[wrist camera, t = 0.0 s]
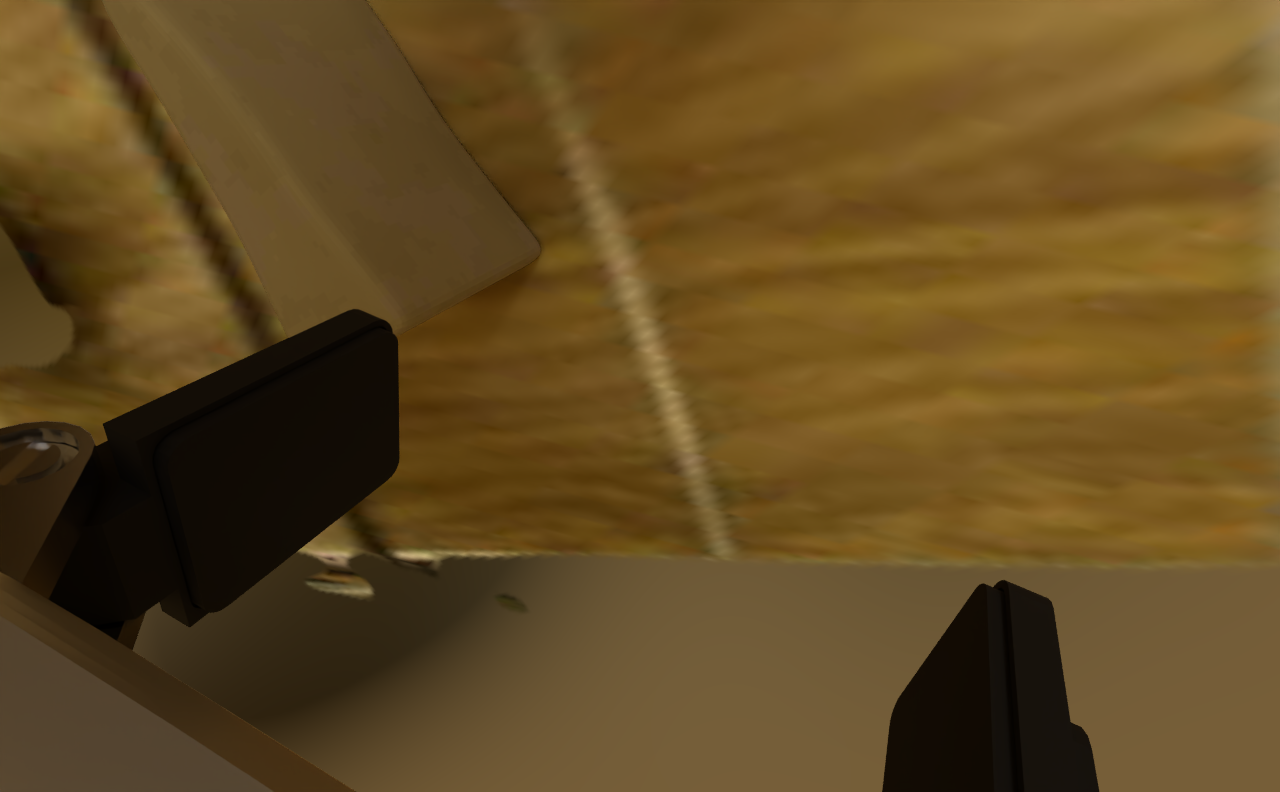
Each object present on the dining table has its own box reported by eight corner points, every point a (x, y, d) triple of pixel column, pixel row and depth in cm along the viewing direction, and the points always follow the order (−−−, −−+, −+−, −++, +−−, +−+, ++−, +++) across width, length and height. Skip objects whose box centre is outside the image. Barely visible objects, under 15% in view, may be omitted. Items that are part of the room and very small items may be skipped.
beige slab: (290, 6, 45) (44, 0, 33) (375, -85, 40) (120, -132, 28) (457, 299, 51) (299, 385, 39) (550, 253, 46) (402, 335, 34)
